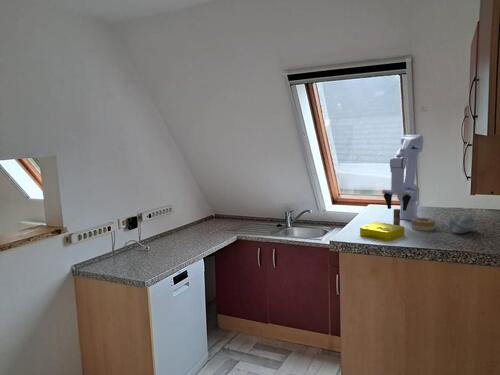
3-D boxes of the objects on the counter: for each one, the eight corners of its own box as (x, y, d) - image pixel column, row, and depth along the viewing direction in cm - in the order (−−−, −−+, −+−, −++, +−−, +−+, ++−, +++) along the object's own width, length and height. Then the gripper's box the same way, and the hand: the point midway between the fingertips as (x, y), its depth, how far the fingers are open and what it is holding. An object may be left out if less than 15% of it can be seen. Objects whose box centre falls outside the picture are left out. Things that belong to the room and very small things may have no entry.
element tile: (406, 235, 184) (406, 225, 183) (389, 242, 174) (389, 231, 173) (375, 230, 195) (376, 220, 194) (358, 236, 185) (358, 226, 184)
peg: (394, 224, 204) (395, 208, 203) (400, 225, 202) (401, 209, 201) (392, 225, 202) (392, 209, 201) (398, 226, 200) (398, 210, 199)
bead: (416, 224, 202) (416, 216, 202) (437, 227, 196) (437, 219, 195) (408, 228, 195) (408, 220, 195) (429, 231, 188) (430, 223, 188)
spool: (454, 220, 196) (463, 204, 190) (473, 231, 191) (483, 215, 184) (440, 231, 188) (448, 215, 182) (459, 243, 183) (469, 227, 177)
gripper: (379, 181, 201) (379, 209, 203) (409, 183, 191) (408, 212, 193) (386, 180, 206) (385, 207, 208) (415, 182, 196) (414, 210, 198)
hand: (396, 209), depth 201 cm, fingers open, 7 cm apart
